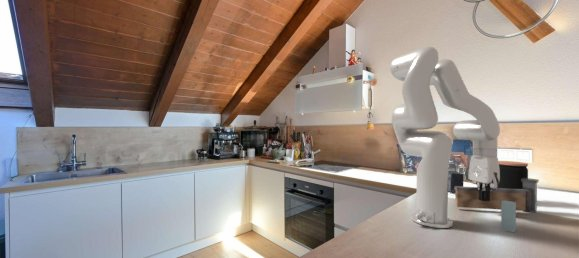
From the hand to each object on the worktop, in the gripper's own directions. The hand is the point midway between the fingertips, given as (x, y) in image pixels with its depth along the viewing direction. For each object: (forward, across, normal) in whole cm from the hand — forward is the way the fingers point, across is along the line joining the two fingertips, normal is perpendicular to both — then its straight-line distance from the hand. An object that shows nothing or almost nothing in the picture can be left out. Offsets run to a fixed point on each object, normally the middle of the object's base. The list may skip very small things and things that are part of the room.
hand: (484, 200), depth 97 cm
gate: (+4, -3, +5) cm, 8 cm away
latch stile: (+5, +16, -5) cm, 17 cm away
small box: (+5, -36, +12) cm, 39 cm away
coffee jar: (+5, -17, +27) cm, 32 cm away
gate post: (+5, -3, +21) cm, 22 cm away
